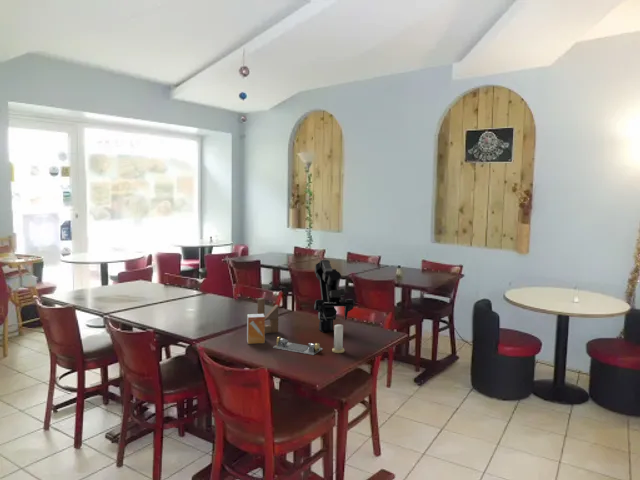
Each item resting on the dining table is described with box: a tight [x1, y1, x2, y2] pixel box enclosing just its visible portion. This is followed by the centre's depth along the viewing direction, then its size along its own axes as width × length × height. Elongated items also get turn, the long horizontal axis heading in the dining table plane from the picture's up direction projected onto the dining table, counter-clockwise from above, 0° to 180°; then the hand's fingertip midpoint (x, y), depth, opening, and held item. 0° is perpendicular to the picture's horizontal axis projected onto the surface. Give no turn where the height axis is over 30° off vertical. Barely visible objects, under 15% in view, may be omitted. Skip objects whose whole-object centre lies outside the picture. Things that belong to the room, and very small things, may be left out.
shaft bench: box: [272, 336, 323, 356], centre depth 217 cm, size 21×9×4 cm, turn 64°
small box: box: [246, 313, 266, 345], centre depth 226 cm, size 8×6×13 cm
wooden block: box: [257, 297, 279, 334], centre depth 241 cm, size 4×11×18 cm, turn 113°
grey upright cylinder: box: [331, 323, 345, 354], centre depth 214 cm, size 6×6×12 cm
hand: (336, 320), depth 220 cm, fingers open, 9 cm apart
